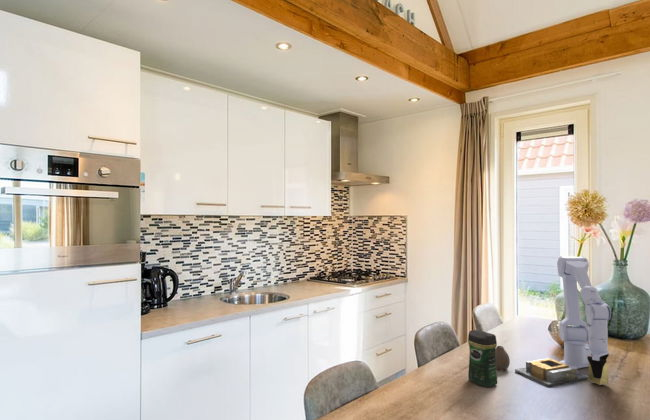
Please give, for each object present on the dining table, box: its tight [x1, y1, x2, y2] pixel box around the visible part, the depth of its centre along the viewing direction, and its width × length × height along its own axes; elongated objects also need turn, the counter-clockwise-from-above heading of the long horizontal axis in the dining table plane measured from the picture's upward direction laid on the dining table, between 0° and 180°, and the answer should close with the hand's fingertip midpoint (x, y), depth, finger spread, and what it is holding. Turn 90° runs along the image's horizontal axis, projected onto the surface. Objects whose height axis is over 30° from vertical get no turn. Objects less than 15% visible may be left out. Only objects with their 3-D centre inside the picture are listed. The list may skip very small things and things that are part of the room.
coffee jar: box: [467, 329, 498, 388], centre depth 146 cm, size 10×8×19 cm
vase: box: [495, 345, 511, 372], centre depth 159 cm, size 7×7×9 cm
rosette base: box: [514, 357, 589, 388], centre depth 152 cm, size 20×15×5 cm
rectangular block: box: [588, 361, 609, 386], centre depth 144 cm, size 4×4×8 cm
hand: (598, 375), depth 144 cm, fingers closed on rectangular block, 6 cm apart
